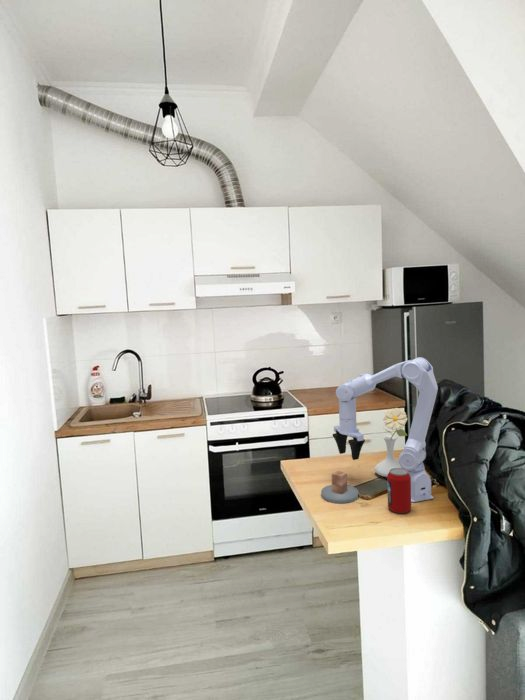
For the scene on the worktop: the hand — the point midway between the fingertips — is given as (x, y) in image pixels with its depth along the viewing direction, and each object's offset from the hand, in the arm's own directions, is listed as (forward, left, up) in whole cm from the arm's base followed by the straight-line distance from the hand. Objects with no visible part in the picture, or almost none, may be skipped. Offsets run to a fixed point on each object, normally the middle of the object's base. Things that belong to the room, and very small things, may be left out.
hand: (348, 456), depth 165 cm
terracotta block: (-9, +8, -8) cm, 14 cm away
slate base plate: (-9, +8, -9) cm, 15 cm away
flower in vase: (0, -17, -10) cm, 20 cm away
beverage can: (-25, -4, -10) cm, 27 cm away
